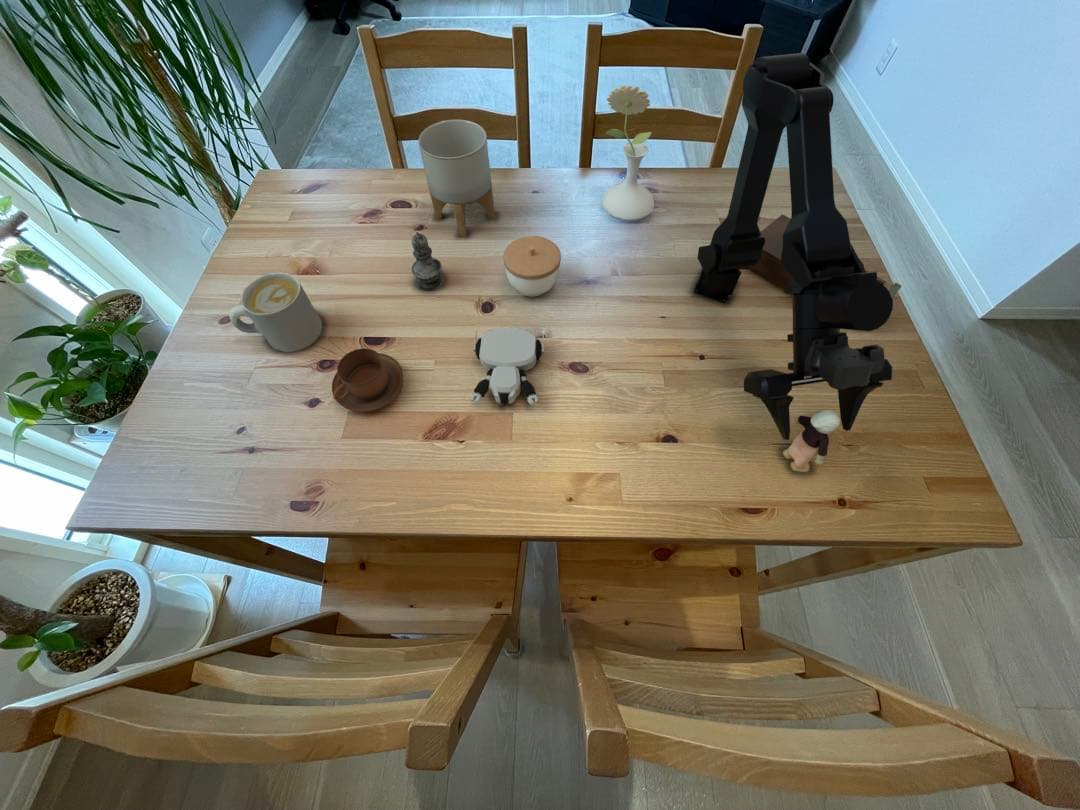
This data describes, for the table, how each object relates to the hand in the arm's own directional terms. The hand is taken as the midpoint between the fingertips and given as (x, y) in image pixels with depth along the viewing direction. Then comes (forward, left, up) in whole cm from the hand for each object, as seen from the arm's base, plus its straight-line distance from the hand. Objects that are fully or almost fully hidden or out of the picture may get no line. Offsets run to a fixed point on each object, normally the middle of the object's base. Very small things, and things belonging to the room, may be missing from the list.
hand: (816, 434), depth 73 cm
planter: (-77, +27, -8) cm, 82 cm away
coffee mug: (-90, -16, -8) cm, 92 cm away
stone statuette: (-73, +7, -8) cm, 74 cm away
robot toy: (-48, -6, -8) cm, 49 cm away
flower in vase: (-47, +45, -8) cm, 66 cm away
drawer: (+1, +38, -7) cm, 38 cm away
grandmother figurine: (0, 0, -8) cm, 8 cm away
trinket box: (-54, +15, -8) cm, 57 cm away
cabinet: (-11, +42, -8) cm, 44 cm away
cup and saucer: (-68, -19, -8) cm, 71 cm away
